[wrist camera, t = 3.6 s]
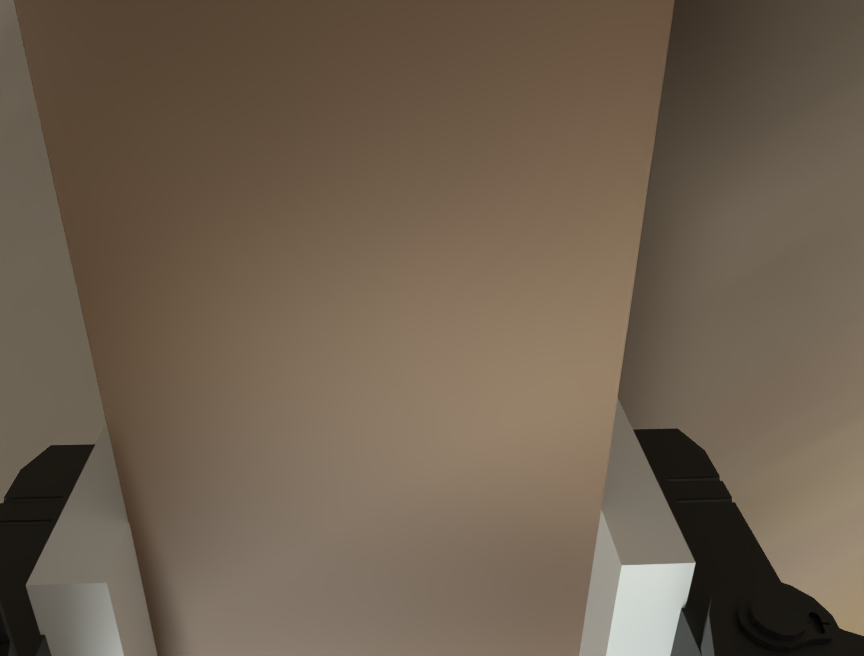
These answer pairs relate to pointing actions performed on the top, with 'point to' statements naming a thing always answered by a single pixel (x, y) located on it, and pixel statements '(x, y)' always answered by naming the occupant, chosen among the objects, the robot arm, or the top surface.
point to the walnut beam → (355, 303)
